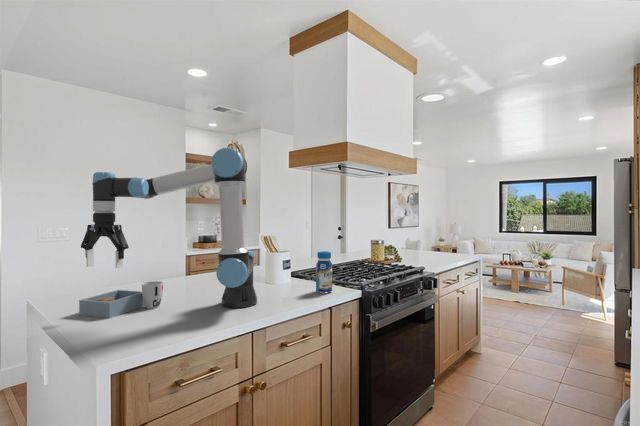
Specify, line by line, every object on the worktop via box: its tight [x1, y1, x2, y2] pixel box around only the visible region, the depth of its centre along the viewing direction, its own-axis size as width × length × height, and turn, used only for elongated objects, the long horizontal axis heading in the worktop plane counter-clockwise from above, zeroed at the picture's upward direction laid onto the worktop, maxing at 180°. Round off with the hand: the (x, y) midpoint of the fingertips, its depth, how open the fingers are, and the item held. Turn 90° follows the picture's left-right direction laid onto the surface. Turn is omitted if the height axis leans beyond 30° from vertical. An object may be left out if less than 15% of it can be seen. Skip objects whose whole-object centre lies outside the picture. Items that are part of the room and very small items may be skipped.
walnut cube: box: [94, 297, 115, 302], centre depth 141 cm, size 5×5×5 cm
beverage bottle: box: [315, 250, 334, 294], centre depth 181 cm, size 8×8×20 cm
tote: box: [78, 289, 145, 319], centre depth 146 cm, size 14×19×6 cm
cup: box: [141, 280, 164, 310], centre depth 151 cm, size 8×8×10 cm
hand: (104, 267), depth 141 cm, fingers open, 13 cm apart
